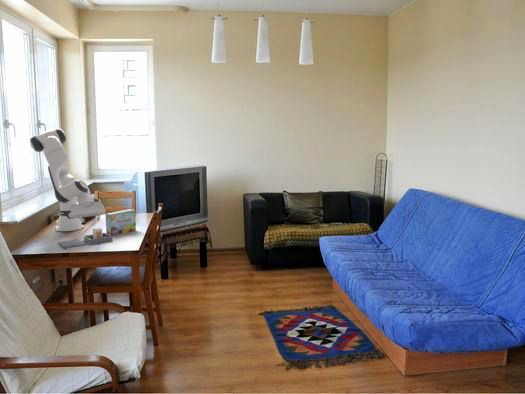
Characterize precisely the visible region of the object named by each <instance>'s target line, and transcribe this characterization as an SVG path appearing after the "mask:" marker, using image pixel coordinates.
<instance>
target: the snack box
mask: <svg viewBox="0 0 525 394" xmlns="http://www.w3.org/2000/svg"><path fill="white" fill-rule="evenodd" d="M104 215H105V230H106V231H105V233H107V234H108V235H110V236H112V237H113V236H116V235H120V234H126V233H127V234H128V233H131V232H135V231H137V223H136V222H137V221H136V220H137V218H136V209H133V208H128V209H123V210H117V211H114V212H108V213H107V212H106V213H105V214H104Z"/></svg>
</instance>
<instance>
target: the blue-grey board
mask: <svg viewBox="0 0 525 394" xmlns="http://www.w3.org/2000/svg"><path fill="white" fill-rule="evenodd" d="M57 245H59V246H60V247H61V248H62V249H64V250H67V249H68V248H69V249H70V248H74V247H75V248H77V247H79V246H80V247H81V246H86V242H83V241H82V240H81V239H78V238H77V239H73V240H72V239H71V240H64V241H59V242H58V243H57Z"/></svg>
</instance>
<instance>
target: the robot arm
mask: <svg viewBox="0 0 525 394" xmlns="http://www.w3.org/2000/svg"><path fill="white" fill-rule="evenodd" d="M66 141H67V136H66V132H64V130H63V129H62V128H59V127H58V128H54V129H51V130H45V131H44V132H42V133H39V134H37V135H33V136H32V137H30V140H29V143H30V147H31V148H32V149H33V150H34V151H35V152H37V153H41V152H42V153H43V156H44V157H45V160H46V162H47V163H48V165H47V169H48V174H49V178H50V180H51V183H52V187H53V190H54V197H55V198H56V201H58V202H59V218H58V219H57V220H56V221H55V223H56V226H55V232H71V231H78V230H82V229H84V228H85V225H83V224H82V223H86V222H85V218H87V217H94V216H95V217H96V216H97V218H96V220H97V221H101V216H104V215H105V214H106V209H105V207H104V204H103V202H101V201H102V200H101V199H100V198H94V197H92V196H91V191H90V189H89V186H88V184H87V183H86V182H85V181H83V180H81V179H77V178H76V177H75V176H74V175H72V174H71V173H70V170H69V166H68V159H69V155H68V153H67V150H66V148H65V147H64V146H63V145H64V143H66Z"/></svg>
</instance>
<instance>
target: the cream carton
mask: <svg viewBox="0 0 525 394" xmlns="http://www.w3.org/2000/svg"><path fill="white" fill-rule="evenodd" d="M102 233H103V228H102V227H93V228H92V235H93V239H97V238H103V234H102Z"/></svg>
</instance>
